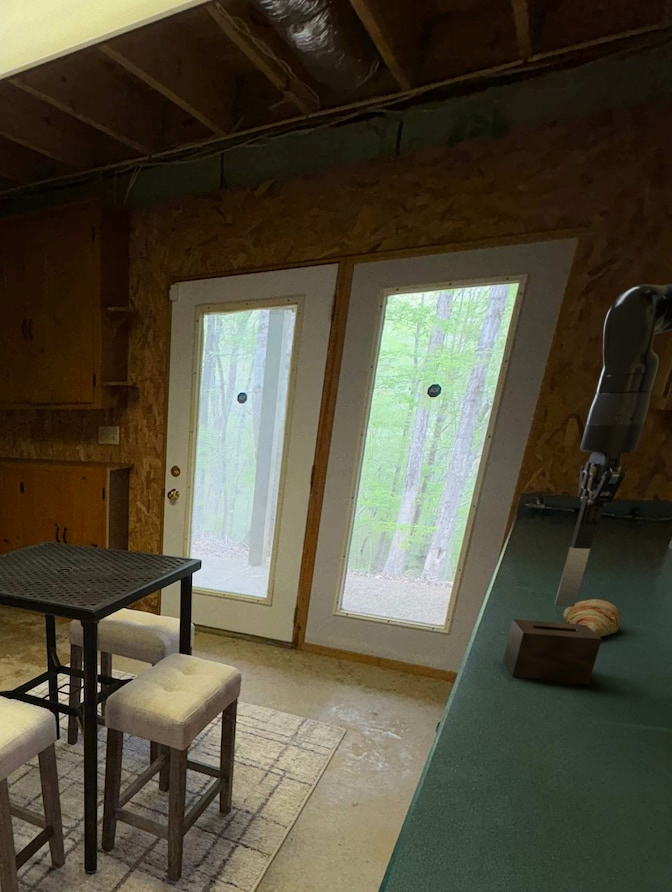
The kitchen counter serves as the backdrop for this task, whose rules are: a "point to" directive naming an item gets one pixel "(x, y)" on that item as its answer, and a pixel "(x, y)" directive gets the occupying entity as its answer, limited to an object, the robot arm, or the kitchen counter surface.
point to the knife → (575, 561)
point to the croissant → (594, 616)
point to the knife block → (551, 651)
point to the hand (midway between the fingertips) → (587, 525)
